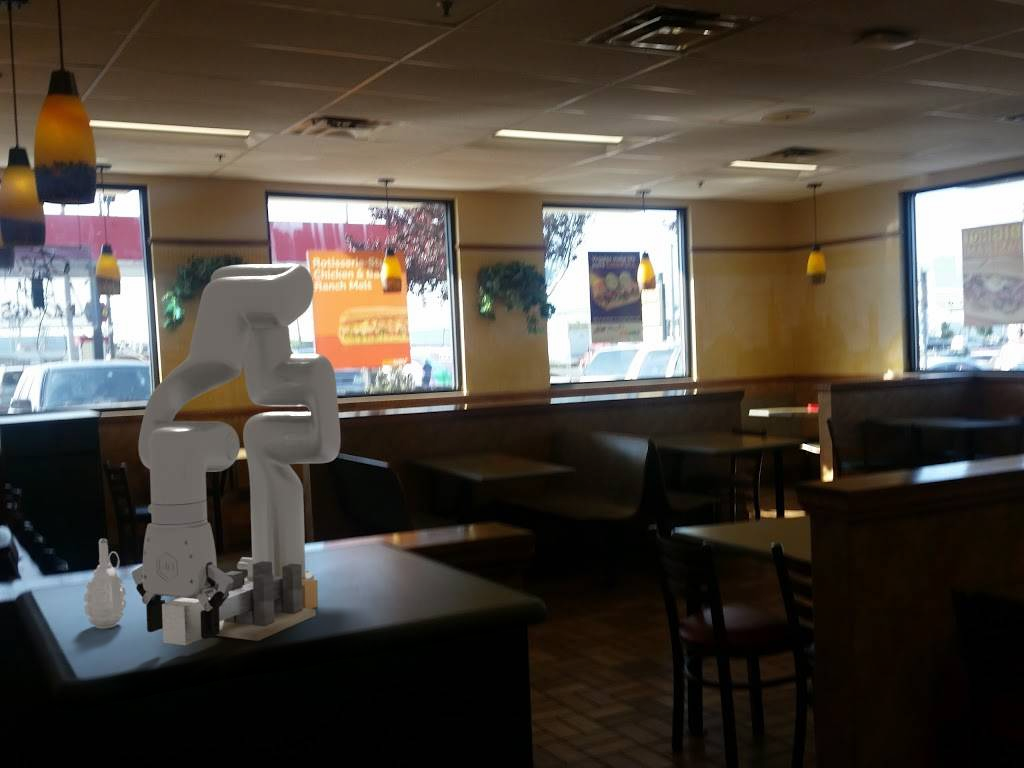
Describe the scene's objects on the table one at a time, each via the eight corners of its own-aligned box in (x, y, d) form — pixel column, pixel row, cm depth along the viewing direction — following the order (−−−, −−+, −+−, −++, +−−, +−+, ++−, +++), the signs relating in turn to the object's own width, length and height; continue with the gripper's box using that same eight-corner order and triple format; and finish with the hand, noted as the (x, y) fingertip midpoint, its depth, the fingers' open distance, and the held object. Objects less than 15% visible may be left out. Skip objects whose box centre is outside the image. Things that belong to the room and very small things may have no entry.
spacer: (273, 583, 173) (286, 577, 177) (274, 609, 173) (287, 603, 177) (304, 585, 171) (317, 580, 175) (305, 612, 171) (318, 606, 175)
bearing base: (199, 633, 160) (197, 578, 159) (260, 609, 173) (258, 558, 173) (258, 640, 155) (256, 584, 155) (315, 615, 169) (314, 563, 169)
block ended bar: (163, 642, 147) (161, 604, 147) (269, 601, 170) (268, 567, 170) (185, 645, 146) (184, 606, 146) (289, 603, 168) (288, 569, 168)
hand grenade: (78, 626, 165) (74, 539, 164) (116, 618, 169) (113, 533, 169) (98, 635, 160) (95, 545, 159) (137, 627, 164) (134, 539, 163)
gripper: (113, 515, 148) (117, 634, 148) (210, 521, 141) (214, 646, 141) (150, 506, 154) (154, 620, 155) (245, 512, 148) (249, 631, 148)
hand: (183, 633), depth 148 cm, fingers open, 9 cm apart
